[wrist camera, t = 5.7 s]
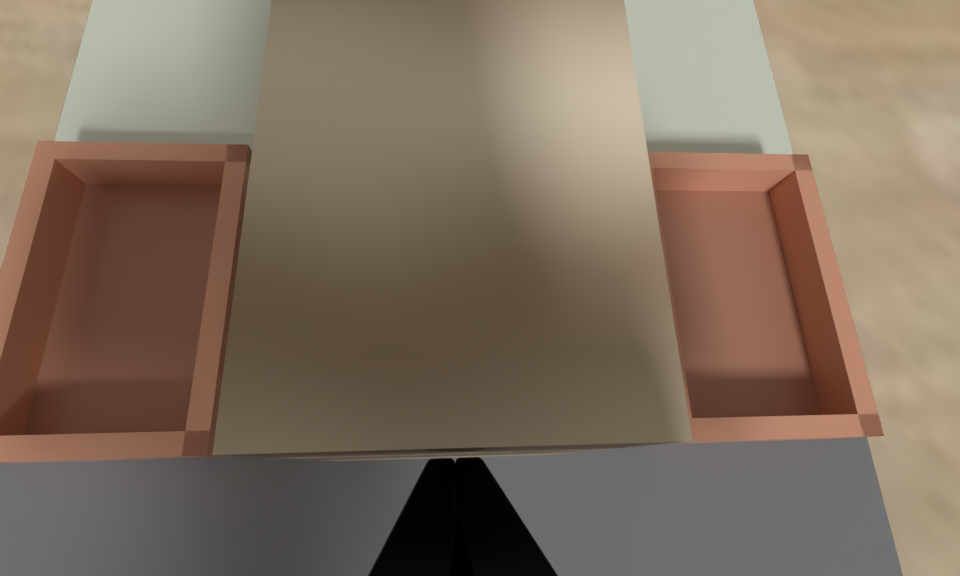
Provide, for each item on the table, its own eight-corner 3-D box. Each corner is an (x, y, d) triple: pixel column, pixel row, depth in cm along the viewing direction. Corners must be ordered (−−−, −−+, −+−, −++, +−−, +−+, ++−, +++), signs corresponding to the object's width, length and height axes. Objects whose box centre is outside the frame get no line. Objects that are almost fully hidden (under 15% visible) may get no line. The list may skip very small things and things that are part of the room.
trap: (233, 456, 15) (206, 455, 13) (4, 463, 14) (-55, 463, 12) (266, 176, 17) (248, 144, 16) (77, 173, 17) (37, 140, 15)
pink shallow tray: (836, 439, 16) (883, 435, 14) (648, 444, 16) (674, 441, 14) (774, 182, 19) (807, 154, 17) (614, 180, 18) (632, 151, 17)
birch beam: (550, 454, 15) (692, 441, 7) (342, 460, 15) (211, 454, 6) (520, 27, 20) (579, -286, 12) (366, 21, 20) (311, -310, 11)
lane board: (959, 864, 13) (1077, 954, 11) (-152, 977, 11) (-318, 1122, 9) (737, -19, 23) (773, -78, 20) (118, -48, 21) (76, -116, 18)
